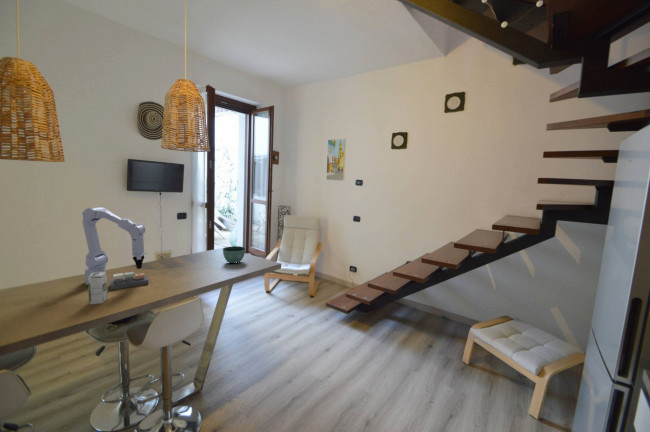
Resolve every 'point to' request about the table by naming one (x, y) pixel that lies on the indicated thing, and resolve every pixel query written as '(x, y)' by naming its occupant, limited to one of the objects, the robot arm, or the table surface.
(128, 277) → the sage key
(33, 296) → the table surface
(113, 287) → the keypad plate
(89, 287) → the syrup box
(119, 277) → the ivory key
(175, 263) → the table surface
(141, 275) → the terracotta key
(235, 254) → the flower pot
